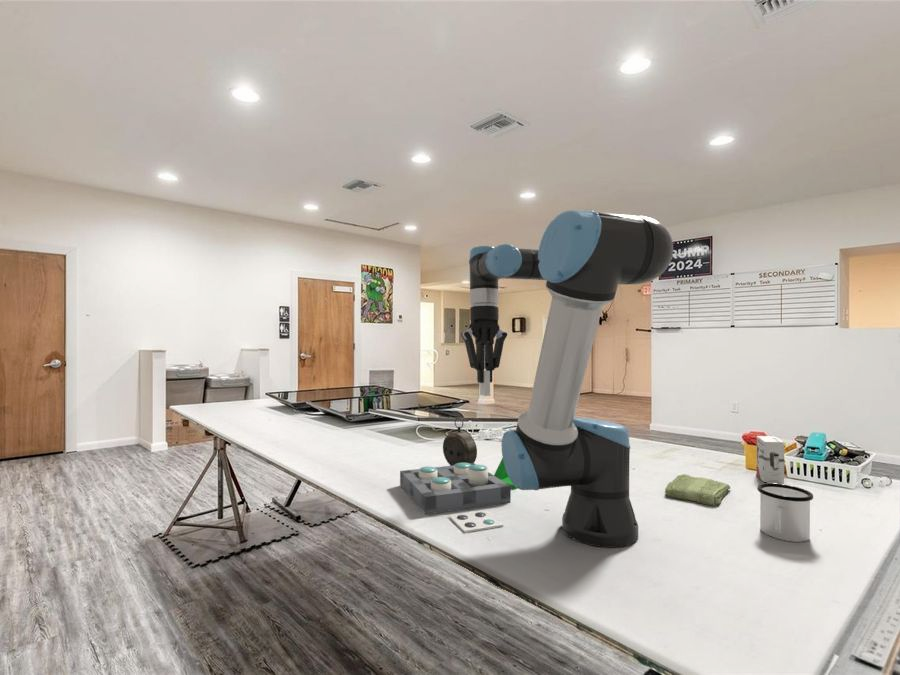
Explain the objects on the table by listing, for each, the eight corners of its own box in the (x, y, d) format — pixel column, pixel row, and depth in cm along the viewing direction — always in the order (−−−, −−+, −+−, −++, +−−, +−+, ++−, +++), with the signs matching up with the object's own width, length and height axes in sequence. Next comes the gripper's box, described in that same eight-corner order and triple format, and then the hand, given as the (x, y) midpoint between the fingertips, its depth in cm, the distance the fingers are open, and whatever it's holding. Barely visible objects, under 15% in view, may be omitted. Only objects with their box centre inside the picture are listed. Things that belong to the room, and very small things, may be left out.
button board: (510, 502, 115) (510, 485, 115) (425, 514, 107) (425, 496, 107) (474, 477, 136) (474, 463, 136) (400, 485, 128) (400, 470, 128)
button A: (454, 499, 114) (454, 481, 114) (434, 502, 112) (434, 483, 112) (446, 493, 118) (446, 475, 118) (428, 495, 117) (428, 477, 117)
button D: (475, 482, 127) (475, 466, 127) (457, 484, 125) (457, 468, 125) (467, 477, 131) (467, 461, 131) (451, 479, 130) (451, 463, 129)
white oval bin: (762, 521, 104) (762, 480, 104) (816, 533, 97) (816, 490, 97) (749, 538, 95) (749, 493, 95) (807, 553, 89) (808, 505, 89)
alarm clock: (478, 473, 140) (478, 418, 140) (465, 477, 136) (465, 421, 136) (452, 466, 147) (452, 414, 147) (439, 469, 144) (439, 416, 144)
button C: (491, 486, 117) (491, 468, 117) (473, 488, 115) (473, 470, 115) (482, 480, 122) (482, 463, 122) (465, 482, 120) (465, 465, 120)
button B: (440, 487, 123) (440, 470, 123) (421, 489, 121) (421, 472, 121) (433, 481, 128) (433, 465, 128) (416, 483, 126) (416, 467, 126)
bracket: (515, 490, 125) (515, 465, 125) (491, 484, 130) (491, 459, 130) (538, 480, 134) (539, 456, 134) (516, 475, 139) (516, 452, 139)
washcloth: (732, 491, 125) (732, 479, 125) (718, 509, 112) (718, 496, 112) (679, 481, 134) (679, 470, 134) (660, 497, 120) (660, 485, 120)
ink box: (755, 474, 139) (755, 434, 139) (774, 476, 137) (775, 436, 137) (764, 483, 131) (764, 441, 131) (784, 485, 129) (785, 442, 129)
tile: (503, 526, 101) (503, 523, 101) (464, 532, 97) (464, 530, 97) (485, 511, 109) (485, 509, 109) (449, 517, 106) (449, 514, 106)
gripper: (498, 307, 130) (499, 393, 130) (455, 306, 125) (456, 395, 124) (512, 305, 124) (513, 395, 123) (468, 303, 118) (469, 397, 118)
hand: (485, 395), depth 124 cm, fingers closed
